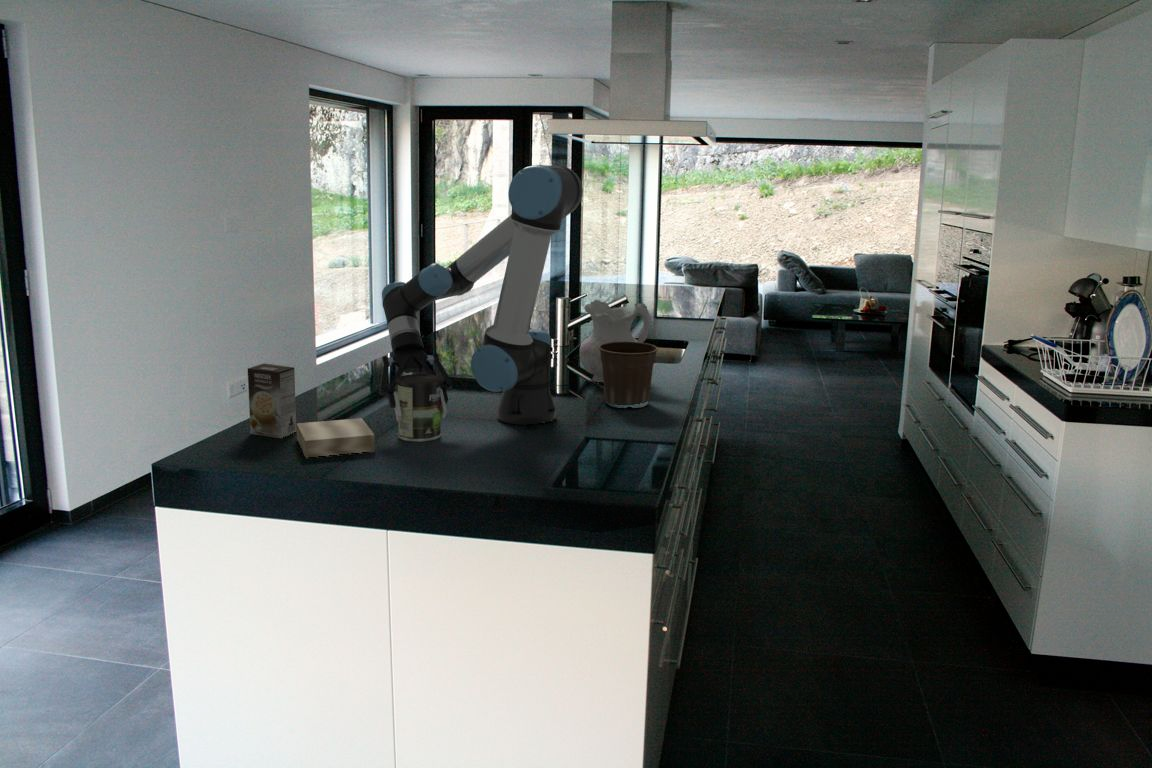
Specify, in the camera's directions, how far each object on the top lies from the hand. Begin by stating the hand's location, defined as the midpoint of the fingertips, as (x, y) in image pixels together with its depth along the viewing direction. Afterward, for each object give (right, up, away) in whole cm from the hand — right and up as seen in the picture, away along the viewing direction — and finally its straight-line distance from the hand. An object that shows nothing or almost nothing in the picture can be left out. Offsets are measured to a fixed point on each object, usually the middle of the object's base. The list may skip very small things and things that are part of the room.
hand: (422, 416), depth 222 cm
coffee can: (-1, -5, +4) cm, 6 cm away
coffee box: (-36, -4, +3) cm, 36 cm away
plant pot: (+50, +2, +39) cm, 63 cm away
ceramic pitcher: (+48, +8, +67) cm, 82 cm away
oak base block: (-19, -6, -6) cm, 21 cm away
